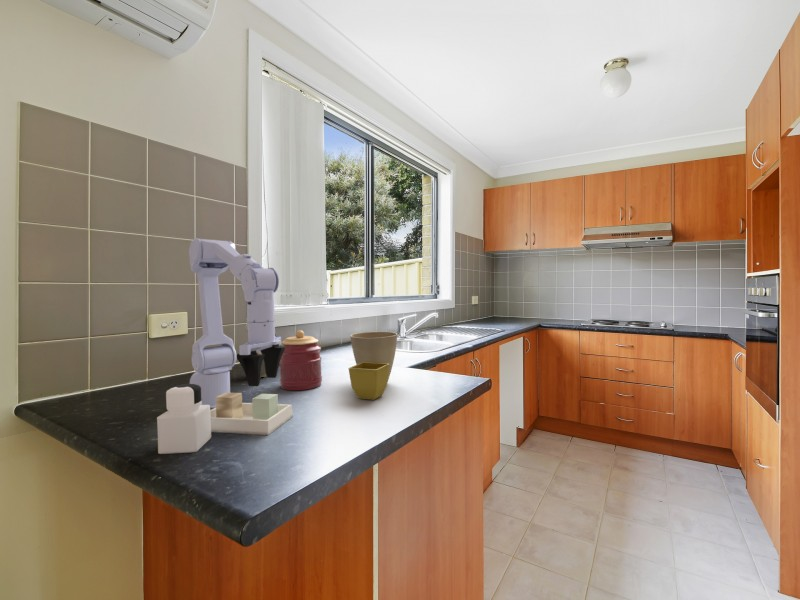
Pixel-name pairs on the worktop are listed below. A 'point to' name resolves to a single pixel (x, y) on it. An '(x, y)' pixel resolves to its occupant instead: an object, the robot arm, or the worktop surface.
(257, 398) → the sage block
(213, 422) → the serving tray
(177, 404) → the medicine bottle
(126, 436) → the worktop surface
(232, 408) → the maple block
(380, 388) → the flower pot
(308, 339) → the canister
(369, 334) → the plant pot
